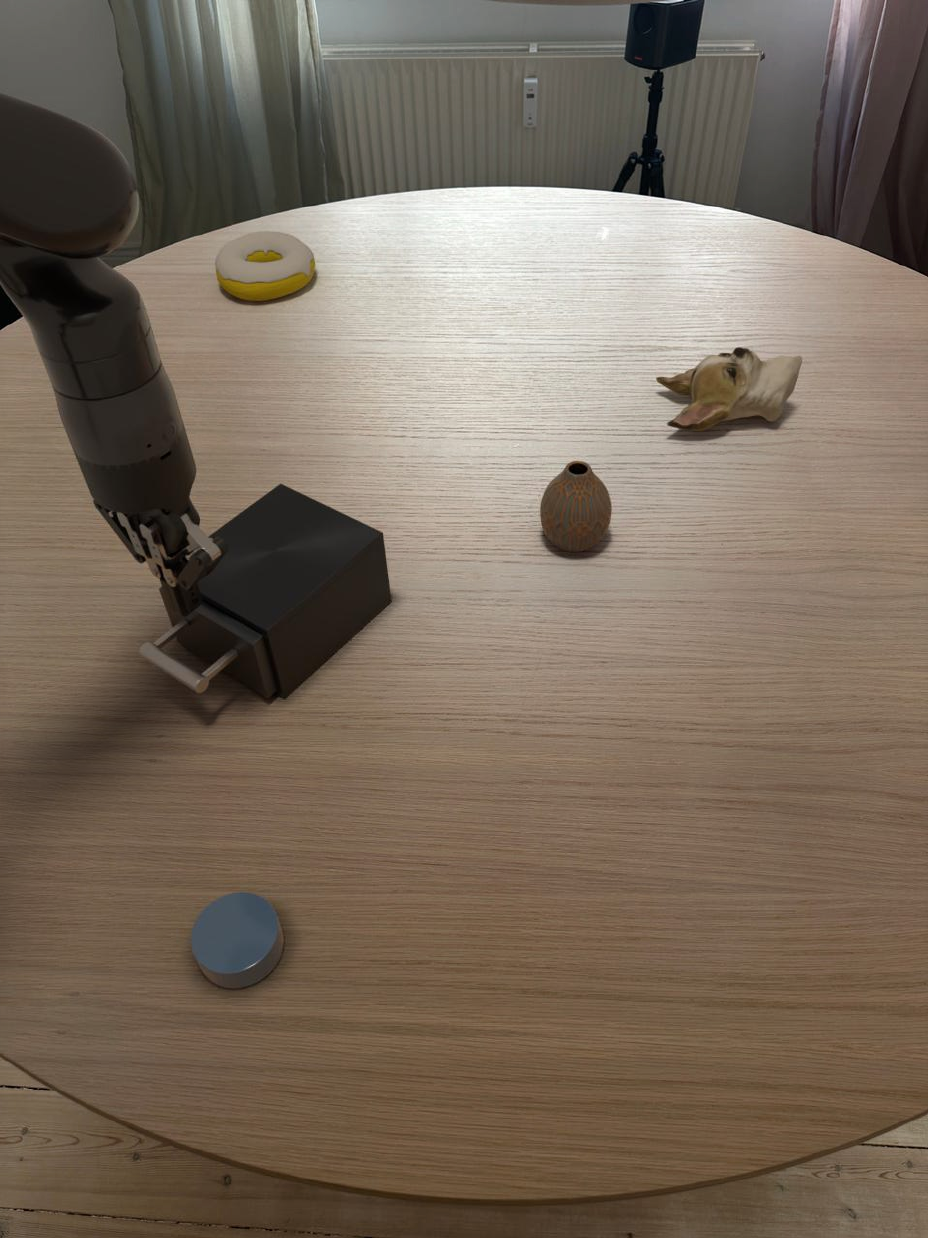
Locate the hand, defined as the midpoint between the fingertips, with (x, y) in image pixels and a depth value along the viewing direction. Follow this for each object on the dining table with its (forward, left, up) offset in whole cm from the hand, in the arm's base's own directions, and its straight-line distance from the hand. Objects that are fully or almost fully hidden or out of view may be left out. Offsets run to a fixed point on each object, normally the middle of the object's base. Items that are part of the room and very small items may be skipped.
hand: (187, 607), depth 79 cm
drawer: (+5, +3, -9) cm, 10 cm away
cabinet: (+9, +4, -10) cm, 14 cm away
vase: (+38, +1, -10) cm, 39 cm away
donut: (+29, +69, -10) cm, 76 cm away
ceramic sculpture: (+64, +11, -10) cm, 65 cm away
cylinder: (-5, -25, -10) cm, 27 cm away
